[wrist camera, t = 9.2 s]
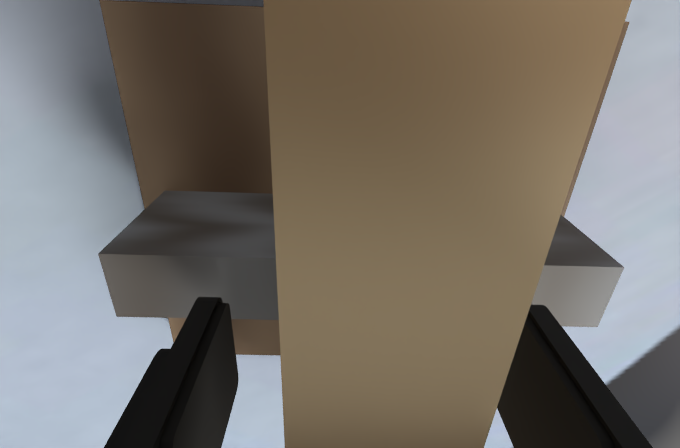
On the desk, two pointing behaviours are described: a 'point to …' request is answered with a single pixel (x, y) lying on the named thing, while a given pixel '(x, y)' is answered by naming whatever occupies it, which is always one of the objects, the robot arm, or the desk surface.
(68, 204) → the desk surface
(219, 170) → the stand
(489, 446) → the desk surface
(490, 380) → the oak batten
